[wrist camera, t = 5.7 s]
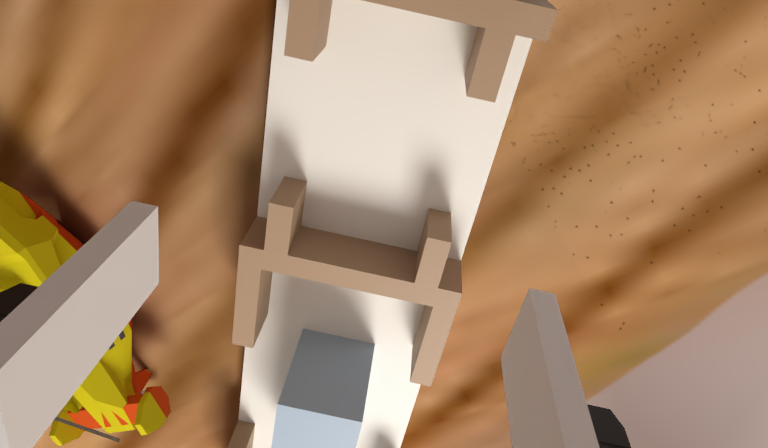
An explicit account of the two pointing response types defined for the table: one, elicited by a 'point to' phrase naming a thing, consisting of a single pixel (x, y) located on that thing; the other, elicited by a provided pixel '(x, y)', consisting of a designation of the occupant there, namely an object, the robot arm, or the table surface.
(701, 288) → the table surface
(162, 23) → the table surface
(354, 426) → the block
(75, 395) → the toy boat
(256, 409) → the jig
